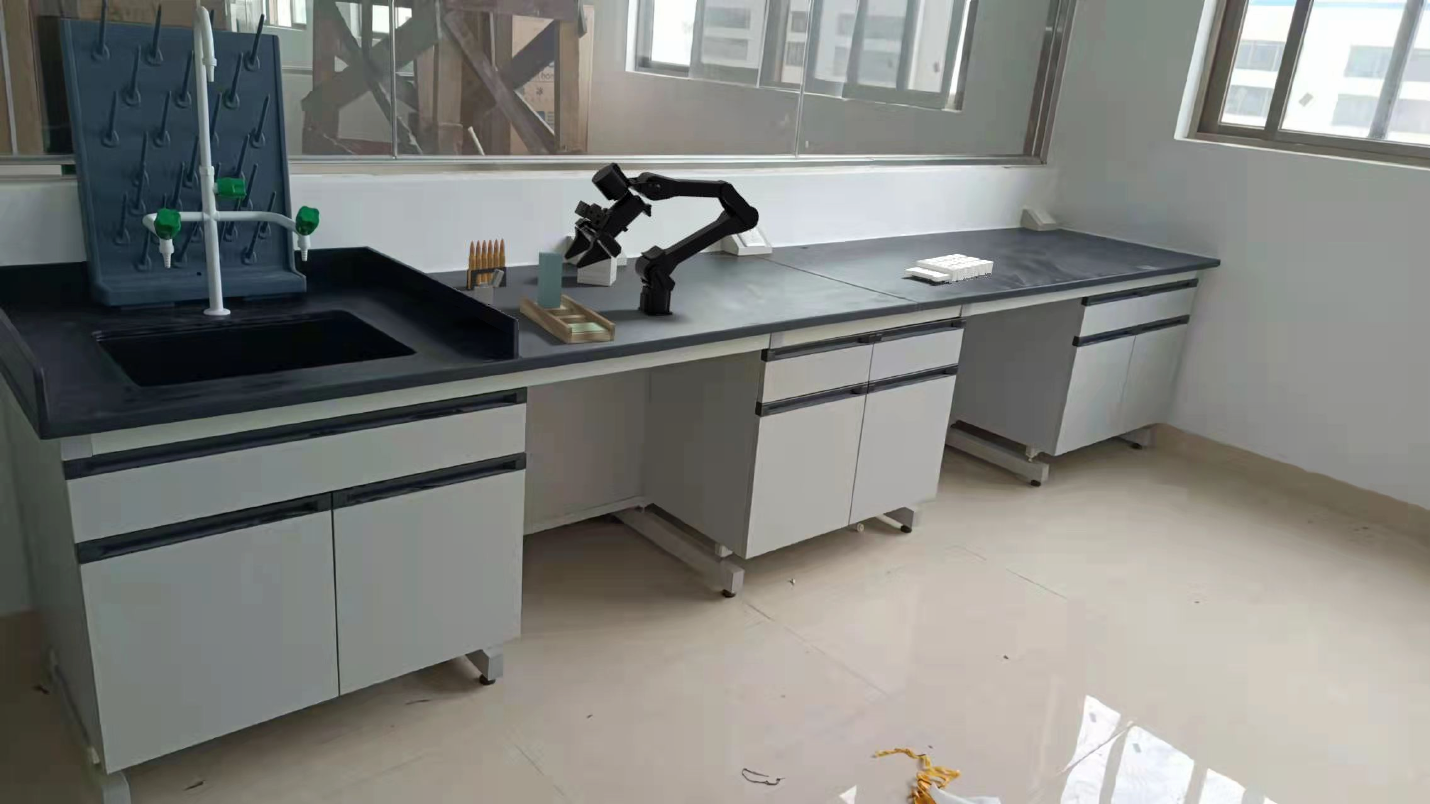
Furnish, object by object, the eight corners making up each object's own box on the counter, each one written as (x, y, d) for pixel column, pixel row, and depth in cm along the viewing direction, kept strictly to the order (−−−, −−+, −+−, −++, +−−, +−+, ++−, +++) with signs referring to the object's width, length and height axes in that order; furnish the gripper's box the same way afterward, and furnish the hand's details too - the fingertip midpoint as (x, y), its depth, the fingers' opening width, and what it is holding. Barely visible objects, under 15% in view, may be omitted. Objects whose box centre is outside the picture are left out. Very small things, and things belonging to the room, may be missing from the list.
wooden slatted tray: (564, 309, 234) (564, 294, 233) (614, 340, 214) (615, 324, 213) (519, 311, 228) (520, 296, 227) (567, 343, 208) (567, 327, 207)
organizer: (993, 262, 325) (940, 272, 299) (990, 276, 326) (938, 287, 301) (957, 254, 333) (903, 263, 307) (954, 268, 334) (900, 278, 309)
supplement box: (616, 279, 268) (620, 224, 264) (610, 286, 260) (613, 229, 255) (583, 275, 269) (586, 220, 264) (576, 282, 261) (578, 225, 256)
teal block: (553, 303, 230) (555, 251, 227) (560, 307, 227) (562, 255, 223) (537, 304, 228) (539, 252, 224) (544, 308, 225) (546, 256, 221)
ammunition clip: (470, 291, 242) (471, 241, 238) (466, 289, 243) (466, 240, 239) (506, 286, 250) (507, 238, 246) (502, 284, 251) (503, 237, 247)
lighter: (478, 306, 229) (478, 272, 226) (473, 304, 230) (474, 270, 228) (503, 303, 234) (504, 269, 232) (499, 301, 235) (499, 268, 233)
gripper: (585, 182, 231) (536, 229, 230) (611, 196, 215) (559, 246, 214) (615, 217, 237) (568, 263, 236) (642, 233, 221) (592, 281, 220)
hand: (571, 262), depth 227 cm, fingers open, 9 cm apart
